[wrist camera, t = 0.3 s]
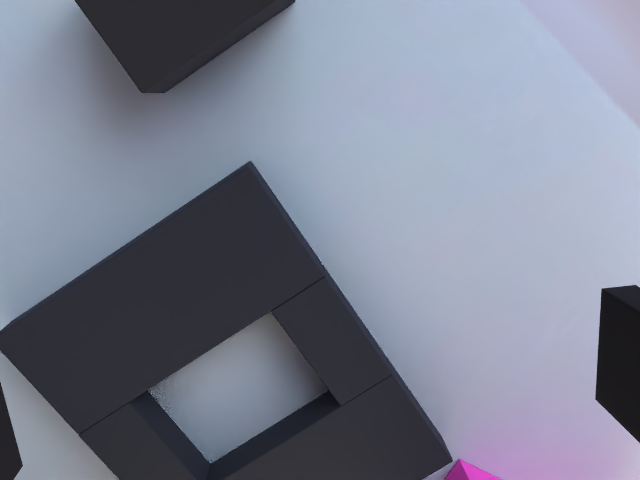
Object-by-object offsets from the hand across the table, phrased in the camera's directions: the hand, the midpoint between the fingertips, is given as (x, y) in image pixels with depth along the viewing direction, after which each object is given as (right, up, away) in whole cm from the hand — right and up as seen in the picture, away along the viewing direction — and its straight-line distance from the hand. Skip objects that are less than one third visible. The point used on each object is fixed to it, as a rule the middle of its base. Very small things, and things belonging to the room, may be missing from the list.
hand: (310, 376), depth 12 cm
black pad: (-5, +13, +11) cm, 18 cm away
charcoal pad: (-4, -4, +16) cm, 17 cm away
